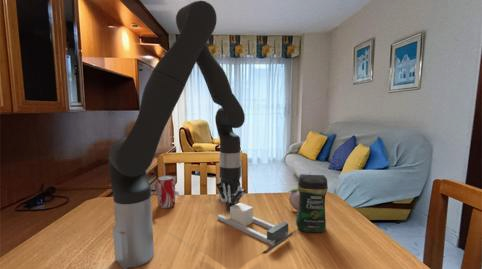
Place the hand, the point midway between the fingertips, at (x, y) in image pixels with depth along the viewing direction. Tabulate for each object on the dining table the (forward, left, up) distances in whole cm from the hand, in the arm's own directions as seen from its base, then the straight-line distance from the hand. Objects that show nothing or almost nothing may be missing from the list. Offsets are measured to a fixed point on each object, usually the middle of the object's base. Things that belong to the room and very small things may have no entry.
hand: (230, 211), depth 91 cm
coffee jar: (+15, -24, -4) cm, 28 cm away
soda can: (-9, +28, -4) cm, 30 cm away
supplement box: (+12, +13, -4) cm, 18 cm away
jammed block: (0, -5, -2) cm, 6 cm away
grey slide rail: (0, -10, -4) cm, 10 cm away
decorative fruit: (+24, -15, -4) cm, 28 cm away
